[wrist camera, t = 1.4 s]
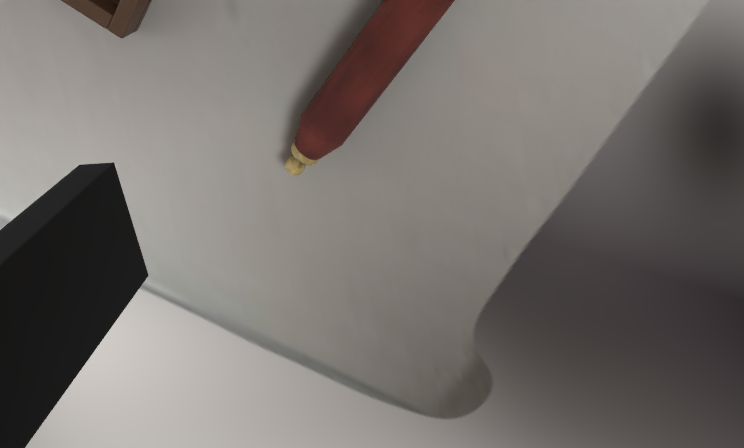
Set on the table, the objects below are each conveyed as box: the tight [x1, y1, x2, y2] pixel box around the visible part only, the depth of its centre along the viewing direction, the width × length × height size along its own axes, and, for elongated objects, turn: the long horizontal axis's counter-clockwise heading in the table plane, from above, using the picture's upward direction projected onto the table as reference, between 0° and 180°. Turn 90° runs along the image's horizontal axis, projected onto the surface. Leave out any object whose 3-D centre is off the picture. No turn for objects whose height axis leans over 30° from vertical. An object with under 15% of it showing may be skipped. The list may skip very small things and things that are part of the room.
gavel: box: [285, 0, 455, 176], centre depth 30 cm, size 21×5×10 cm
